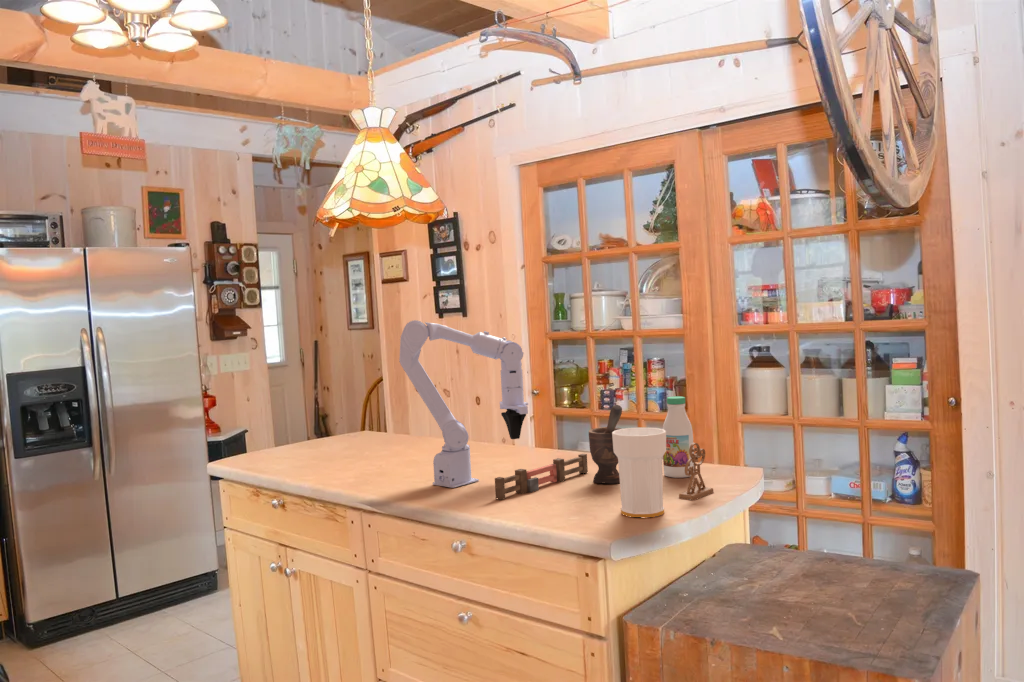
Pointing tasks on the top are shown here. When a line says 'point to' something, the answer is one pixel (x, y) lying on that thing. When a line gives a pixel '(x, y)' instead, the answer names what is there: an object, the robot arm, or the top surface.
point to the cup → (640, 469)
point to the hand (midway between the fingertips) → (515, 438)
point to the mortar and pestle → (605, 449)
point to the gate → (549, 478)
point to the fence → (532, 484)
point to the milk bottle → (677, 438)
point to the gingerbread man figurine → (692, 491)
